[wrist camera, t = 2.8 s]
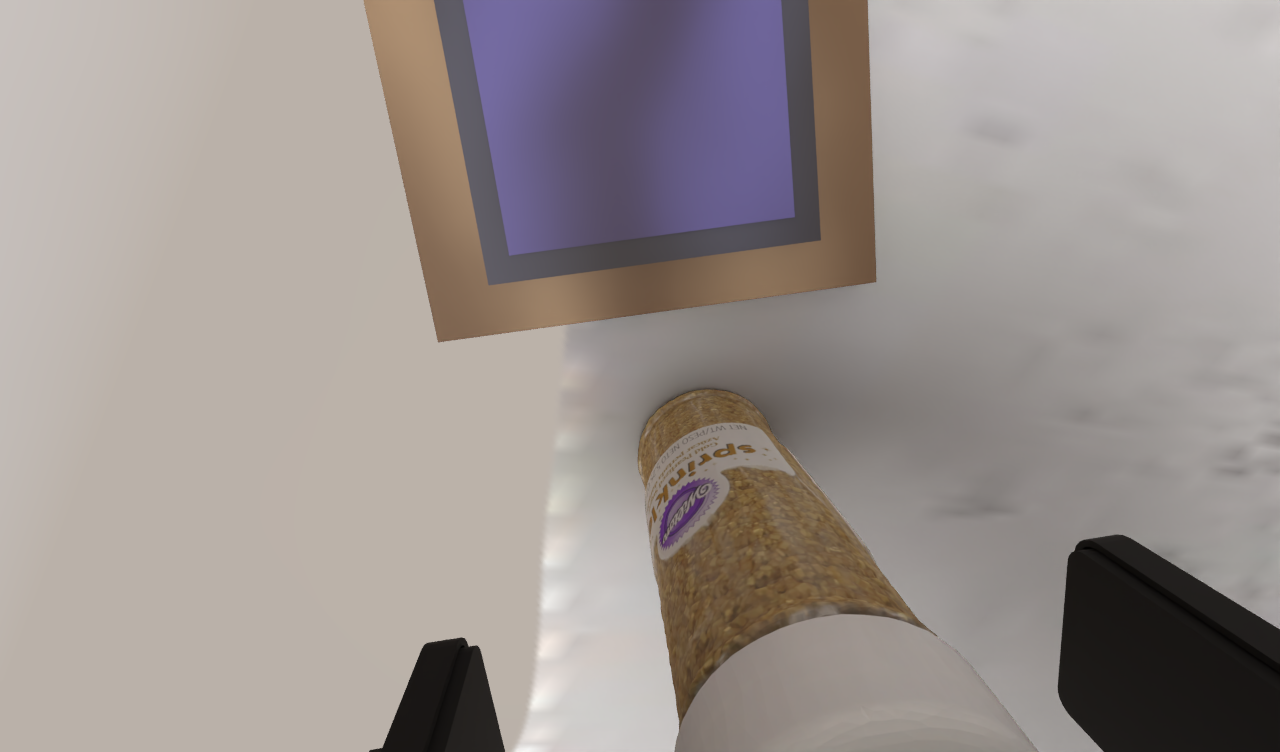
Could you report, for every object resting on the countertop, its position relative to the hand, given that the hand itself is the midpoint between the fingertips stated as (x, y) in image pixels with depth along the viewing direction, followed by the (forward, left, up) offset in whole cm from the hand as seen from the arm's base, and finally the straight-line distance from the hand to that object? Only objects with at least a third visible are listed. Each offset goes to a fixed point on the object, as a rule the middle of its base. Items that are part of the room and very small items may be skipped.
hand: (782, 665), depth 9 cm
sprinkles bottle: (0, +1, -11) cm, 11 cm away
